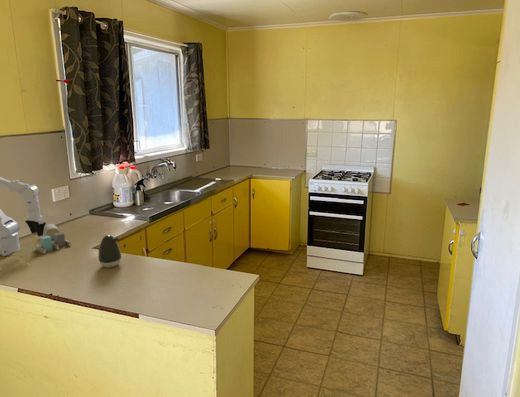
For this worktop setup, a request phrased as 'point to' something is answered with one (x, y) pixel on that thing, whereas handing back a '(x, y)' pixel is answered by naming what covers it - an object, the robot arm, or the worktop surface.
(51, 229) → the ceramic mug
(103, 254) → the dark grey egg shape
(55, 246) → the brown tray
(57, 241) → the grey plug
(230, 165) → the worktop surface
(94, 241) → the worktop surface
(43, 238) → the teal plug
